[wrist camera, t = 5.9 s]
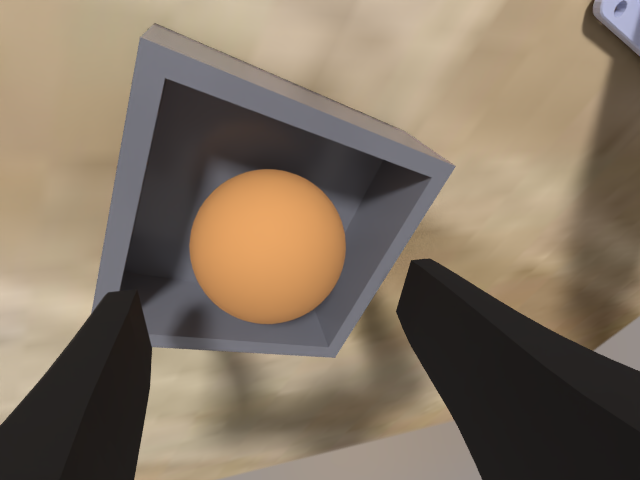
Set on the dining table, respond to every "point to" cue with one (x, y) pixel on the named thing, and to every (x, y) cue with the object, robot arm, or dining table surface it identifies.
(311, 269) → the ball
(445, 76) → the dining table surface
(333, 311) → the grey open-top box
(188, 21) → the dining table surface
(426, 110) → the dining table surface
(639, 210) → the dining table surface
